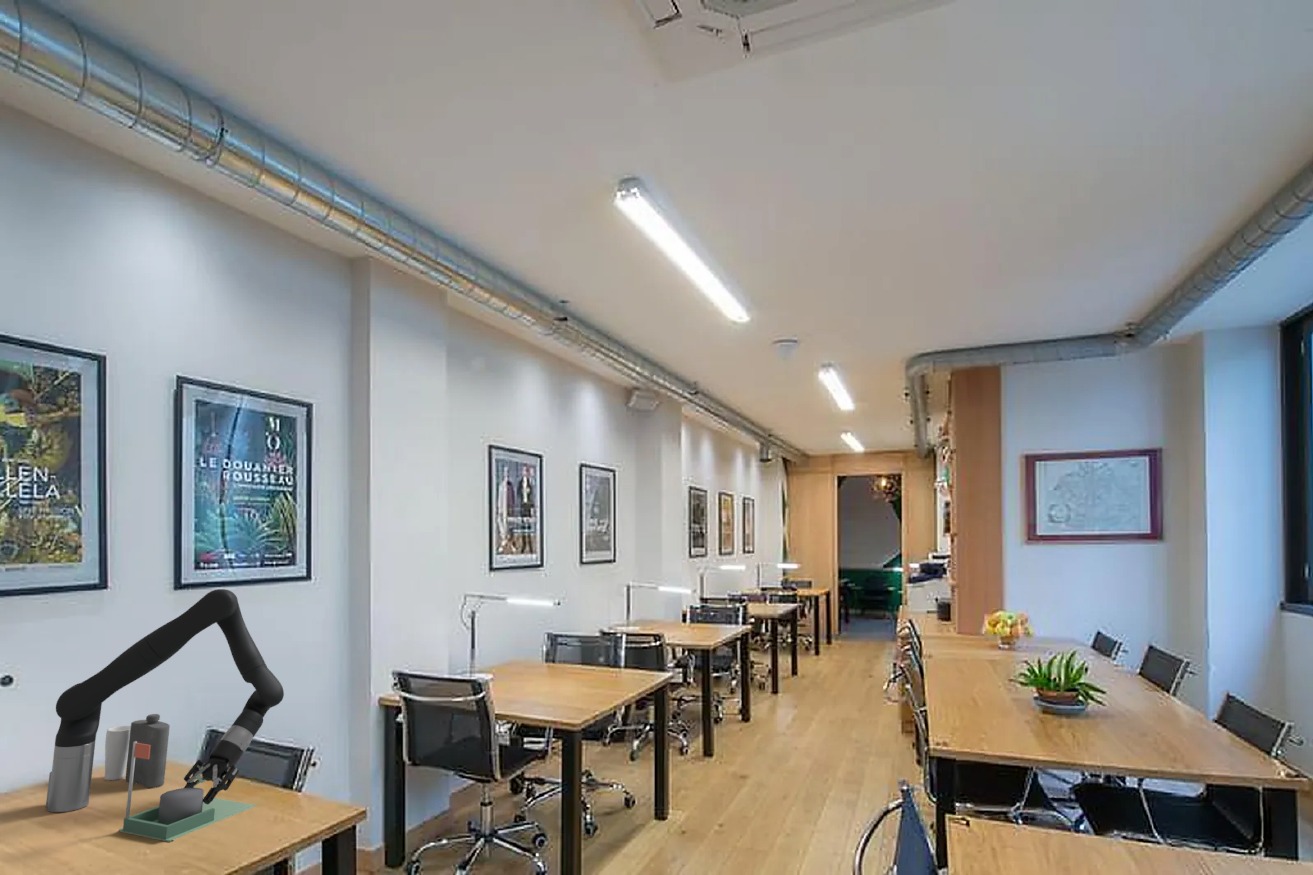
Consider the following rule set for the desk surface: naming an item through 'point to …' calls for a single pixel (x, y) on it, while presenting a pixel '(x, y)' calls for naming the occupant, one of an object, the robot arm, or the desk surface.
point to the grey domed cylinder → (180, 804)
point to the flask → (157, 737)
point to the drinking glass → (116, 752)
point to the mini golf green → (150, 827)
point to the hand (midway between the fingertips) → (193, 800)
